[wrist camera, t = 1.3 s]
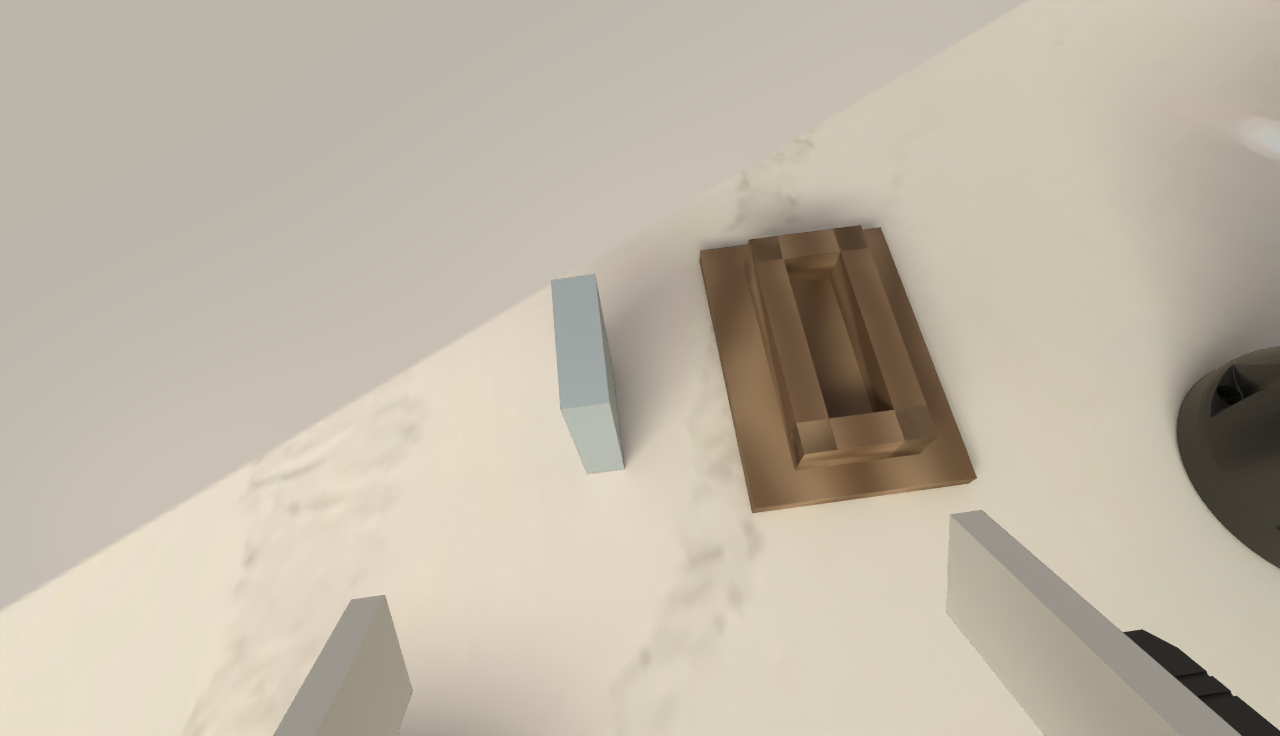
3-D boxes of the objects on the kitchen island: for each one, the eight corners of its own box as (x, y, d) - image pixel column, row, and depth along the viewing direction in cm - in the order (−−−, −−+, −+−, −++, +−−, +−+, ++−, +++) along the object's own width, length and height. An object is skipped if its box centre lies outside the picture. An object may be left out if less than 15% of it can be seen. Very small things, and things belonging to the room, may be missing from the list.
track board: (875, 237, 49) (893, 198, 45) (968, 483, 40) (1001, 461, 36) (699, 260, 49) (701, 223, 45) (752, 513, 40) (761, 494, 36)
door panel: (611, 363, 45) (595, 274, 35) (624, 469, 41) (609, 402, 31) (577, 368, 45) (550, 280, 35) (587, 474, 41) (560, 409, 31)
